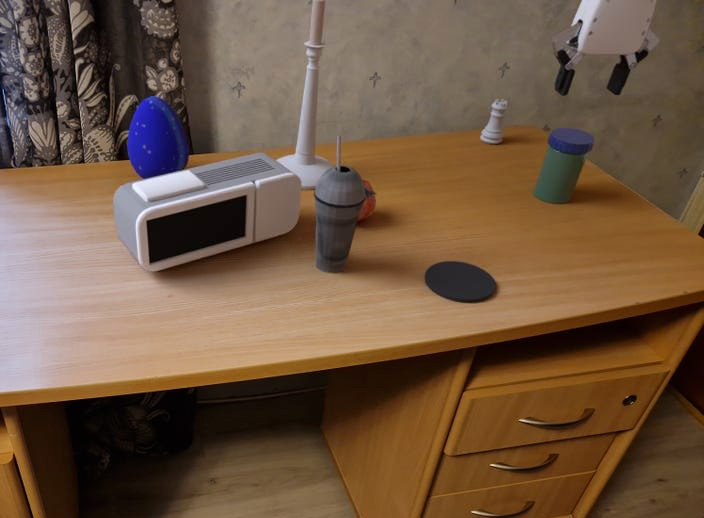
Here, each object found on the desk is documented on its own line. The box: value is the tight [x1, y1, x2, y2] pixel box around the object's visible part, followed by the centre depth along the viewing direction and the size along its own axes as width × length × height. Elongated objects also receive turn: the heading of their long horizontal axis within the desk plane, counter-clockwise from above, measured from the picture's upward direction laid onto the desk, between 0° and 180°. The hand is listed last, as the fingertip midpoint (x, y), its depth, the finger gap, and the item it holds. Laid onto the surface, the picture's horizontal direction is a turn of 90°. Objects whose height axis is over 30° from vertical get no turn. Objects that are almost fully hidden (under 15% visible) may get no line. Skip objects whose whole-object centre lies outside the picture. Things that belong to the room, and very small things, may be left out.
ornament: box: [126, 95, 190, 180], centre depth 119 cm, size 11×9×15 cm
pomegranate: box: [357, 179, 378, 222], centre depth 112 cm, size 7×7×10 cm
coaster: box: [424, 260, 497, 304], centre depth 99 cm, size 10×10×1 cm
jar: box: [532, 144, 589, 205], centre depth 117 cm, size 6×6×10 cm
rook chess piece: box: [479, 98, 509, 145], centre depth 136 cm, size 4×4×8 cm
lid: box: [547, 127, 596, 154], centre depth 114 cm, size 7×7×2 cm
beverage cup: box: [313, 133, 366, 274], centre depth 96 cm, size 7×7×20 cm
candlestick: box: [275, 0, 336, 191], centre depth 117 cm, size 13×13×30 cm
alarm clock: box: [112, 152, 302, 272], centre depth 103 cm, size 27×9×12 cm, turn 119°
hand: (586, 92), depth 109 cm, fingers open, 8 cm apart
